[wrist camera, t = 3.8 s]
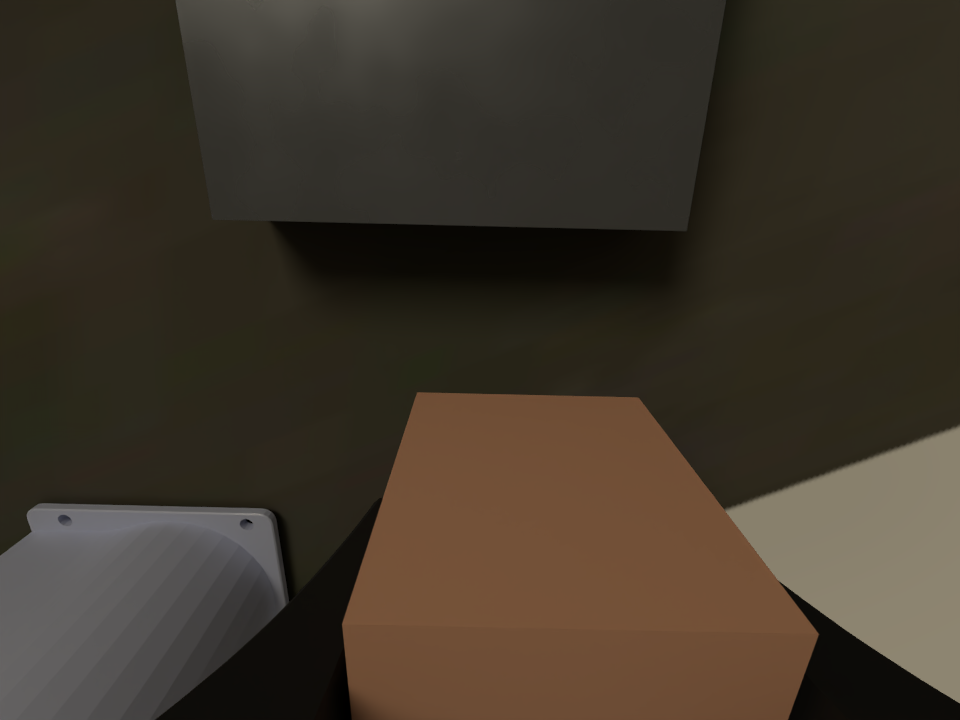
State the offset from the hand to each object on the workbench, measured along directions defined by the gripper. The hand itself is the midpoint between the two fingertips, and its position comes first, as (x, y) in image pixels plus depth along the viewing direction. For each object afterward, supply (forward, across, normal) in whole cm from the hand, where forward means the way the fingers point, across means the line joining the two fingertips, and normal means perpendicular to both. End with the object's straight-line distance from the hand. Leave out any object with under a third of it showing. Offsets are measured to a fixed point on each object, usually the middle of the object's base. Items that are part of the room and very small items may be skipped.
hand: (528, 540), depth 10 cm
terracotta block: (+2, 0, 0) cm, 2 cm away
